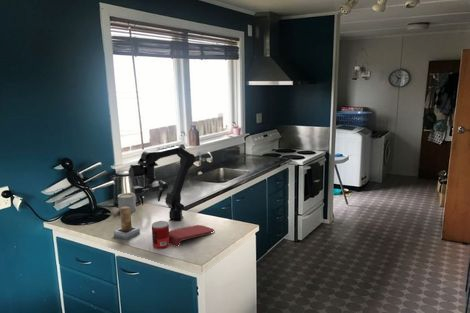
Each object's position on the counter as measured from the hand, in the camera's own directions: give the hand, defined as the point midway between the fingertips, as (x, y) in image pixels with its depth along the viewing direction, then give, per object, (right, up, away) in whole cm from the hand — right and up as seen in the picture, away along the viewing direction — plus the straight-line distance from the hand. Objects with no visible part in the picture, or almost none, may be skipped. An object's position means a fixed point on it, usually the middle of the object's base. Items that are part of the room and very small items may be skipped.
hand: (150, 203), depth 198 cm
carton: (+23, -16, -12) cm, 30 cm away
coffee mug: (-20, -8, +29) cm, 36 cm away
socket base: (-10, -15, -10) cm, 21 cm away
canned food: (+10, -18, -23) cm, 31 cm away
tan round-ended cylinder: (-10, -14, -10) cm, 20 cm away
